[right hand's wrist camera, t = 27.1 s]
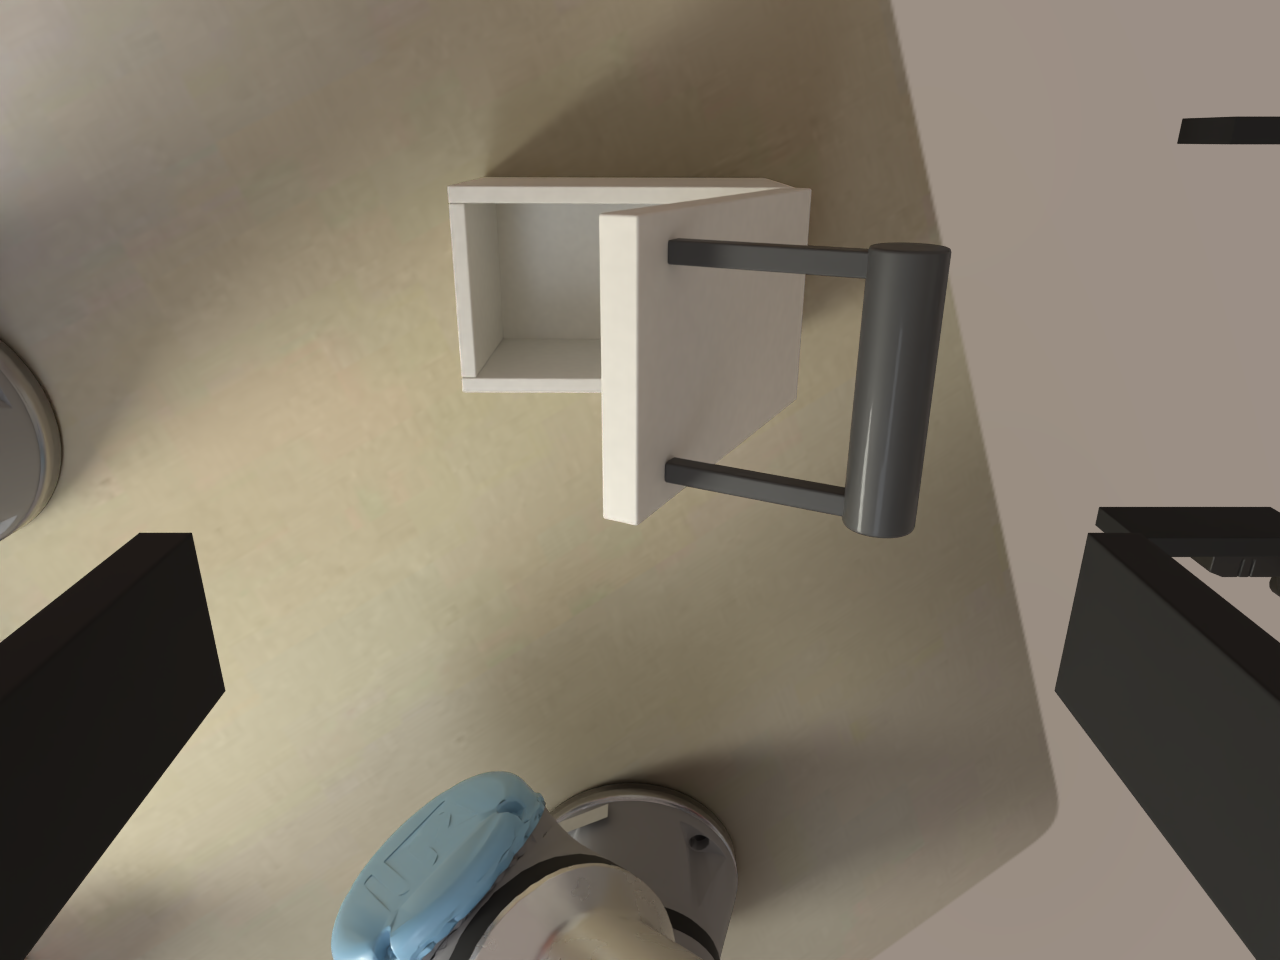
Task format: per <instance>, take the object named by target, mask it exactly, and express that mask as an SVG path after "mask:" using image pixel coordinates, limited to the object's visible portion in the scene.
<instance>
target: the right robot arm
mask: <svg viewBox="0 0 1280 960" xmlns="http://www.w3.org/2000/svg"><path fill="white" fill-rule="evenodd" d="M60 466H61V442H60V435H59V430H58V426H57V422H56V419H55V416H54V413H53V411H52V408H51V405H50V403H49V401H48V399H47V397H46V395H45V393H44V391H43V389H42V388H41V386H40V385H39V383H38V381H37V380H36V378H35V377H34V375H33V374H32V373H31V371H30V370H29V369H28V367H27V366H26V365H25V364H24V363H23V361H22V360H21V359H20V358H19V357H18V356H17V355H16V354H15V353H14V352H13V351H12V350H11V349H10V348H9V347H8V346H7V345H6V344H5V343H4V342H3V341H2V340H0V541H1V540H3V539H4V538H6V537H7V536H9V535H11V534H12V533H14V532H15V531H17V530H19V529H20V528H22V527H23V526H25V525H26V524H28V523H29V522H30V521H32V520H33V519H34V518H35V517H36V516H37V515H38V514H39V513H40V512H41V511H42V510H43V508H44V507H45V506H46V504H47V503H48V501H49V499H50V498H51V496H52V494H53V492H54V489H55V487H56V485H57V481H58V477H59V473H60ZM224 692H225V687H224V682H223V677H222V673H221V668H220V663H219V659H218V654H217V649H216V644H215V640H214V635H213V630H212V626H211V621H210V616H209V611H208V607H207V602H206V597H205V593H204V588H203V583H202V578H201V574H200V569H199V564H198V560H197V555H196V550H195V545H194V541H193V536H192V533H139V534H138V535H136V536H135V537H134V538H132V539H131V540H130V541H129V542H127V543H126V544H125V545H124V546H122V547H121V548H120V549H119V550H117V551H116V552H115V553H113V554H112V555H111V556H110V557H108V558H107V559H106V560H105V561H103V562H102V563H101V564H99V565H98V566H97V567H96V568H94V569H93V570H92V571H91V572H89V573H88V574H87V575H86V576H84V577H83V578H82V579H80V580H79V581H78V582H77V583H75V584H74V585H73V586H72V587H70V588H69V589H68V590H67V591H65V592H64V593H63V594H61V595H60V596H59V597H58V598H56V599H55V600H54V601H53V602H51V603H50V604H49V605H48V606H46V607H45V608H44V609H42V610H41V611H40V612H39V613H37V614H36V615H35V616H34V617H32V618H31V619H30V620H28V621H27V622H26V623H25V624H23V625H22V626H21V627H20V628H18V629H17V630H16V631H15V632H13V633H12V634H11V635H9V636H8V637H7V638H6V639H4V640H3V641H2V642H1V643H0V960H24V959H25V957H26V956H27V955H28V953H29V952H30V951H31V949H32V948H33V947H34V945H35V944H36V943H37V941H38V940H39V939H40V937H41V936H42V935H43V933H44V932H45V931H46V929H47V928H48V927H49V925H50V924H51V923H52V921H53V920H54V919H55V917H56V916H57V915H58V913H59V912H60V911H61V909H62V908H63V907H64V905H65V904H66V903H67V901H68V900H69V899H70V897H71V896H72V895H73V893H74V892H75V891H76V889H77V888H78V887H79V885H80V884H81V883H82V881H83V880H84V879H85V877H86V876H87V875H88V873H89V872H90V871H91V869H92V868H93V867H94V865H95V864H96V863H97V861H98V860H99V859H100V857H101V856H102V855H103V853H104V852H105V851H106V849H107V848H108V847H109V845H110V844H111V843H112V841H113V840H114V839H115V837H116V836H117V835H118V833H119V832H120V831H121V829H122V828H123V827H124V825H125V824H126V823H127V821H128V820H129V819H130V817H131V816H132V815H133V813H134V812H135V811H136V809H137V808H138V807H139V805H140V804H141V803H142V801H143V800H144V799H145V797H146V796H147V795H148V793H149V792H150V791H151V789H152V788H153V787H154V785H155V784H156V783H157V781H158V780H159V779H160V777H161V776H162V775H163V773H164V772H165V771H166V769H167V768H168V767H169V765H170V764H171V763H172V761H173V760H174V759H175V757H176V756H177V755H178V753H179V752H180V751H181V749H182V748H183V747H184V745H185V744H186V743H187V741H188V740H189V739H190V737H191V736H192V735H193V733H194V732H195V731H196V729H197V728H198V727H199V725H200V724H201V723H202V721H203V720H204V719H205V717H206V716H207V715H208V713H209V712H210V711H211V709H212V708H213V707H214V705H215V704H216V703H217V701H218V700H219V699H220V697H221V696H222V695H223V693H224ZM1055 692H1056V693H1057V695H1058V696H1059V697H1060V699H1061V700H1062V701H1063V703H1064V704H1065V705H1066V707H1067V708H1068V709H1069V711H1070V712H1071V713H1072V715H1073V716H1074V717H1075V719H1076V720H1077V721H1078V723H1079V724H1080V725H1081V727H1082V728H1083V729H1084V731H1085V732H1086V733H1087V735H1088V736H1089V737H1090V738H1091V740H1092V741H1093V743H1094V744H1095V745H1096V747H1097V748H1098V749H1099V751H1100V752H1101V753H1102V755H1103V756H1104V757H1105V759H1106V760H1107V761H1108V763H1109V764H1110V765H1111V767H1112V768H1113V769H1114V771H1115V772H1116V773H1117V775H1118V776H1119V777H1120V779H1121V780H1122V781H1123V783H1124V784H1125V785H1126V787H1127V788H1128V789H1129V791H1130V792H1131V793H1132V795H1133V796H1134V797H1135V799H1136V800H1137V801H1138V803H1139V804H1140V805H1141V807H1142V808H1143V809H1144V811H1145V812H1146V813H1147V815H1148V816H1149V817H1150V818H1151V820H1152V821H1153V823H1154V824H1155V825H1156V827H1157V828H1158V829H1159V831H1160V832H1161V833H1162V835H1163V836H1164V837H1165V839H1166V840H1167V841H1168V843H1169V844H1170V845H1171V847H1172V848H1173V849H1174V851H1175V852H1176V853H1177V855H1178V856H1179V857H1180V858H1181V860H1182V861H1183V863H1184V864H1185V865H1186V867H1187V868H1188V869H1189V871H1190V872H1191V873H1192V875H1193V876H1194V877H1195V879H1196V880H1197V881H1198V883H1199V884H1200V885H1201V887H1202V888H1203V889H1204V891H1205V892H1206V893H1207V895H1208V896H1209V897H1210V899H1211V900H1212V901H1213V902H1214V904H1215V905H1216V907H1217V908H1218V909H1219V911H1220V912H1221V913H1222V915H1223V916H1224V917H1225V919H1226V920H1227V921H1228V923H1229V924H1230V925H1231V927H1232V928H1233V929H1234V930H1235V932H1236V933H1237V934H1238V936H1239V937H1240V938H1241V940H1242V941H1243V943H1244V944H1245V945H1246V947H1247V948H1248V949H1249V951H1250V952H1251V953H1252V954H1253V956H1254V957H1255V958H1256V960H1280V643H1279V642H1278V641H1277V640H1276V639H1274V638H1273V637H1272V636H1270V635H1269V634H1268V633H1267V632H1265V631H1264V630H1263V629H1262V628H1260V627H1259V626H1258V625H1257V624H1255V623H1254V622H1253V621H1252V620H1250V619H1249V618H1248V617H1246V616H1245V615H1244V614H1243V613H1241V612H1240V611H1239V610H1238V609H1236V608H1235V607H1234V606H1232V605H1231V604H1230V603H1229V602H1227V601H1226V600H1225V599H1224V598H1222V597H1221V596H1220V595H1219V594H1217V593H1216V592H1215V591H1213V590H1212V589H1211V588H1210V587H1208V586H1207V585H1206V584H1205V583H1203V582H1202V581H1201V580H1199V579H1198V578H1197V577H1196V576H1194V575H1193V574H1192V573H1191V572H1189V571H1188V570H1187V569H1186V568H1184V567H1183V566H1182V565H1181V564H1179V563H1178V562H1177V561H1175V560H1174V559H1173V558H1172V557H1170V556H1169V555H1168V554H1167V553H1165V552H1164V551H1163V550H1161V549H1160V548H1159V547H1158V546H1156V545H1155V544H1154V543H1153V542H1151V541H1150V540H1149V539H1148V538H1146V537H1145V536H1144V535H1142V534H1141V533H1088V536H1087V541H1086V546H1085V550H1084V555H1083V560H1082V564H1081V569H1080V574H1079V578H1078V583H1077V588H1076V593H1075V597H1074V602H1073V607H1072V611H1071V616H1070V621H1069V626H1068V630H1067V635H1066V640H1065V644H1064V649H1063V654H1062V659H1061V663H1060V668H1059V673H1058V677H1057V682H1056V687H1055Z"/></svg>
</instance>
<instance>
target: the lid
mask: <svg viewBox="0 0 1280 960" xmlns="http://www.w3.org/2000/svg"><path fill="white" fill-rule="evenodd" d="M811 191H812V190H811V189H810V188H778V189H771V190H764V191H756V192H749V193H742V194H735V195H728V196H721V197H713V198H706V199H699V200H692V201H685V202H678V203H670V204H663V205H656V206H649V207H642V208H635V209H627V210H620V211H613V212H606V213H601V214H600V215H599V241H600V314H601V388H602V461H603V517H604V518H605V519H609V520H614V521H618V522H623V523H627V524H632V525H639V524H640V523H641V522H642V521H644V520H645V519H646V518H647V517H649V516H650V515H651V514H653V513H654V512H655V511H656V510H658V509H659V508H660V507H661V506H663V505H664V504H665V503H666V502H668V501H669V500H670V499H671V498H673V497H674V496H675V495H676V494H678V493H679V492H680V491H681V490H683V489H684V488H685V487H686V486H688V487H693V488H698V489H703V490H709V491H714V492H719V493H724V494H729V495H734V496H740V497H745V498H750V499H755V500H760V501H765V502H771V503H776V504H781V505H786V506H791V507H796V508H802V509H807V510H812V511H817V512H822V513H828V514H833V515H838V516H842V520H843V523H844V525H845V526H846V527H847V528H849V529H850V530H852V531H854V532H856V533H859V534H862V535H866V536H870V537H877V538H897V537H902V536H905V535H908V534H910V533H911V532H912V531H913V529H914V527H915V521H916V513H917V506H918V498H919V491H920V483H921V476H922V468H923V461H924V453H925V446H926V438H927V431H928V423H929V416H930V408H931V401H932V393H933V386H934V378H935V371H936V363H937V356H938V348H939V341H940V333H941V326H942V318H943V311H944V303H945V295H946V288H947V280H948V273H949V265H950V258H951V250H950V248H948V247H945V246H940V245H933V244H922V243H880V244H874V245H871V246H870V247H869V249H859V248H842V247H825V246H808V233H809V219H810V205H811ZM805 274H808V275H821V276H835V277H849V278H863V279H866V281H865V291H864V301H863V311H862V321H861V332H860V342H859V352H858V362H857V372H856V382H855V392H854V403H853V413H852V423H851V433H850V443H849V453H848V464H847V474H846V484H845V488H844V487H839V486H833V485H827V484H822V483H816V482H811V481H805V480H799V479H794V478H788V477H783V476H777V475H771V474H766V473H760V472H755V471H749V470H743V469H738V468H732V467H727V466H721V465H715V463H717V462H718V461H719V460H720V459H722V458H723V457H724V456H725V455H727V454H728V453H729V452H730V451H732V450H733V449H734V448H735V447H737V446H738V445H739V444H741V443H742V442H743V441H744V440H746V439H747V438H748V437H749V436H751V435H752V434H753V433H754V432H756V431H757V430H758V429H759V428H761V427H762V426H763V425H764V424H766V423H767V422H768V421H769V420H771V419H772V418H773V417H774V416H776V415H777V414H778V413H779V412H781V411H782V410H783V409H785V408H786V407H787V406H788V405H790V404H791V403H792V402H793V401H795V400H796V397H797V383H798V370H799V356H800V342H801V329H802V315H803V301H804V287H805Z"/></svg>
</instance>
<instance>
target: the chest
mask: <svg viewBox="0 0 1280 960" xmlns="http://www.w3.org/2000/svg"><path fill="white" fill-rule="evenodd" d="M778 188H795V187H792V186H789V185H786V184H783V183H780V182H776V181H773V180H770V179H767V178H633V177H482V178H478V179H474V180H470V181H466V182H462V183H457V184H453V185H449V186H448V187H447V190H448V202H449V203H450V204H449V215H450V229H451V242H452V255H453V269H454V282H455V295H456V309H457V322H458V335H459V349H460V362H461V375H462V390H463V392H527V393H602V388H601V314H600V241H599V215H600V214H601V213H606V212H613V211H620V210H627V209H635V208H642V207H649V206H656V205H663V204H670V203H678V202H685V201H692V200H699V199H706V198H713V197H721V196H728V195H735V194H742V193H749V192H756V191H764V190H771V189H778Z"/></svg>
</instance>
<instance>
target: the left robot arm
mask: <svg viewBox="0 0 1280 960" xmlns="http://www.w3.org/2000/svg"><path fill="white" fill-rule="evenodd" d="M1177 143H1178V144H1280V117H1215V118H1188V119H1183V120H1182V124H1181V129H1180V133H1179V138H1178V142H1177ZM1096 526H1097V527H1098V528H1100V529H1101V530H1102V531H1103V532H1104V533H1141V534H1142V535H1144V536H1145V537H1146V538H1148V539H1149V540H1150V541H1151V542H1153V543H1154V544H1155V545H1156V546H1158V547H1159V548H1160V549H1161V550H1163V551H1164V552H1165V553H1167V554H1168V555H1169V556H1170V557H1191V558H1192V559H1194V560H1195V561H1196V562H1197V563H1199V564H1200V565H1201V566H1203V567H1204V568H1205V569H1207V570H1208V571H1209V572H1211V573H1214V574H1216V575H1219V576H1221V577H1237V576H1239V577H1248V576H1250V577H1271V580H1270V589H1271V590H1272V592H1274V593H1275V594H1277V595H1278V596H1280V512H1278V511H1276V510H1275V509H1273V508H1271V507H1099V511H1098V515H1097V520H1096ZM737 887H738V874H737V866H736V859H735V852H734V847H733V844H732V841H731V839H730V836H729V834H728V832H727V831H726V829H725V827H724V826H723V824H722V823H721V822H720V820H719V819H718V818H717V817H716V816H715V815H714V814H713V813H712V812H711V811H710V810H709V809H708V808H706V807H705V806H704V805H702V804H701V803H699V802H698V801H696V800H694V799H693V798H691V797H689V796H687V795H685V794H683V793H680V792H678V791H675V790H672V789H669V788H665V787H661V786H656V785H651V784H642V783H620V784H612V785H606V786H601V787H597V788H594V789H590V790H587V791H585V792H582V793H580V794H578V795H576V796H573V797H571V798H570V799H568V800H566V801H565V802H563V803H562V804H560V805H559V806H558V807H556V808H555V809H554V810H553V811H552V812H551V813H550V812H549V811H548V810H547V809H546V807H545V802H544V798H543V797H542V795H541V794H540V793H535V792H534V791H533V790H532V789H531V788H530V787H529V786H528V785H527V784H526V783H525V782H524V781H523V780H522V779H521V778H520V777H518V776H517V775H515V774H512V773H509V772H503V771H494V772H487V773H483V774H479V775H476V776H473V777H471V778H468V779H466V780H464V781H462V782H460V783H458V784H456V785H455V786H453V787H452V788H450V789H449V790H447V791H445V792H443V793H441V794H440V795H438V796H437V797H435V798H434V799H433V800H431V801H430V802H429V803H427V804H426V805H425V806H423V807H422V808H421V809H420V810H419V811H417V812H416V813H415V814H414V815H413V816H411V817H410V818H409V819H408V820H407V821H406V822H405V823H404V824H402V825H401V826H400V827H399V828H398V829H397V830H396V831H395V832H394V833H393V834H392V835H391V836H390V838H389V839H388V840H387V841H386V842H385V843H384V844H383V845H382V846H381V847H380V849H379V850H378V851H377V852H376V853H375V854H374V856H373V857H372V858H371V859H370V861H369V862H368V863H367V865H366V866H365V867H364V869H363V870H362V871H361V873H360V874H359V876H358V877H357V879H356V880H355V882H354V883H353V885H352V887H351V890H350V892H349V893H348V894H347V896H346V897H345V899H344V901H343V903H342V905H341V907H340V910H339V912H338V915H337V918H336V921H335V924H334V928H333V932H332V940H331V949H332V956H333V959H334V960H720V956H721V952H722V949H723V945H724V941H725V937H726V933H727V930H728V926H729V922H730V918H731V914H732V911H733V907H734V903H735V899H736V894H737Z"/></svg>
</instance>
